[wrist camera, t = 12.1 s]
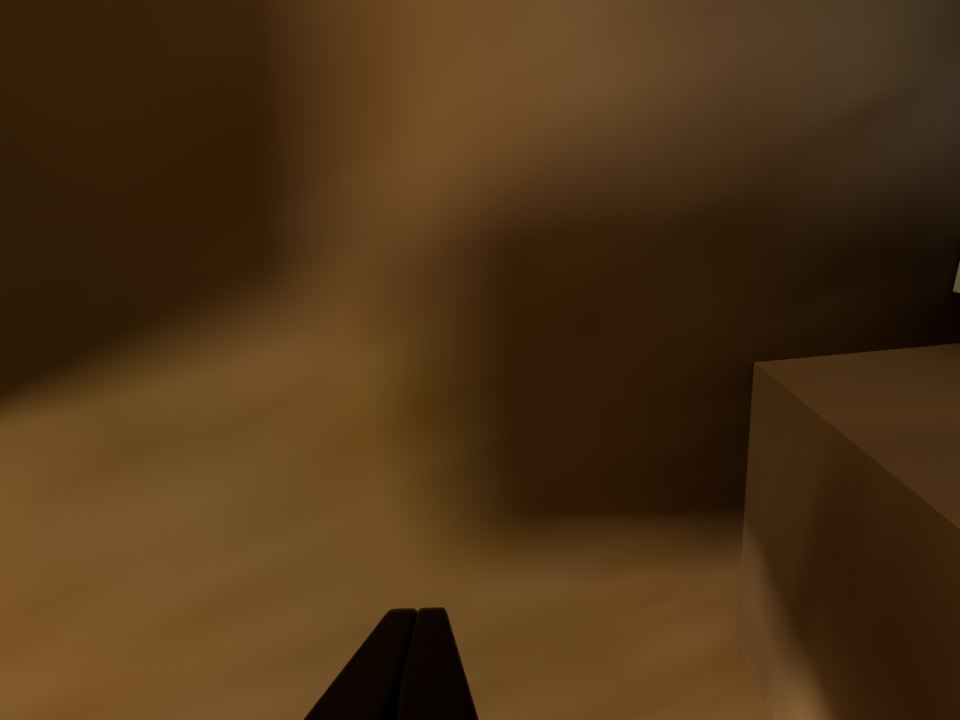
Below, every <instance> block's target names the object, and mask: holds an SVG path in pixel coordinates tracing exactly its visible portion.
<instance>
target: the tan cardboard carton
mask: <svg viewBox="0 0 960 720" xmlns="http://www.w3.org/2000/svg"><path fill="white" fill-rule="evenodd" d="M736 643H737V645H738V648H739V650H740V652H741V654H742V656H743V658H744V660H745V662H746V664H747V666H748V668H749V670H750V672H751V674H752V676H753V678H754V680H755V683H756V685H757V687H758V689H759V691H760V693H761V695H762V697H763V699H764V701H765V703H766V705H767V707H768V709H769V711H770V713H771V715H772V717H773V720H960V343H957V344H946V345H936V346H925V347H914V348H903V349H892V350H882V351H871V352H860V353H849V354H838V355H828V356H817V357H806V358H795V359H784V360H774V361H763V362H754V371H753V386H752V401H751V417H750V432H749V447H748V463H747V478H746V493H745V509H744V524H743V539H742V555H741V570H740V585H739V601H738V616H737V631H736Z"/></svg>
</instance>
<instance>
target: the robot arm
mask: <svg viewBox="0 0 960 720" xmlns="http://www.w3.org/2000/svg"><path fill="white" fill-rule="evenodd" d="M304 720H479V719H478V715H477V712H476V709H475V705H474V702H473V699H472V695H471V692H470V689H469V685H468V682H467V678H466V675H465V672H464V668H463V665H462V662H461V658H460V655H459V652H458V648H457V645H456V641H455V638H454V635H453V631H452V628H451V625H450V621H449V618H448V615H447V612H446V610H445V609H444V608H442V607H438V608H421V609H419V611H418V612H417V610H416V609H414V608H404V609H391V610H390V611H388V612H387V613H386V614H385V616H384V617H383V618H382V620H381V621H380V622H379V623H378V625H377V626H376V627H375V629H374V630H373V631H372V632H371V634H370V635H369V636H368V638H367V639H366V640H365V641H364V643H363V644H362V645H361V647H360V648H359V649H358V650H357V652H356V653H355V654H354V655H353V657H352V658H351V659H350V661H349V662H348V663H347V664H346V666H345V667H344V668H343V670H342V671H341V672H340V673H339V675H338V676H337V677H336V679H335V680H334V681H333V682H332V684H331V685H330V686H329V688H328V689H327V690H326V691H325V693H324V694H323V695H322V696H321V698H320V699H319V700H318V702H317V703H316V704H315V705H314V707H313V708H312V709H311V711H310V712H309V713H308V714H307V716H306V717H305V718H304Z"/></svg>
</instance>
